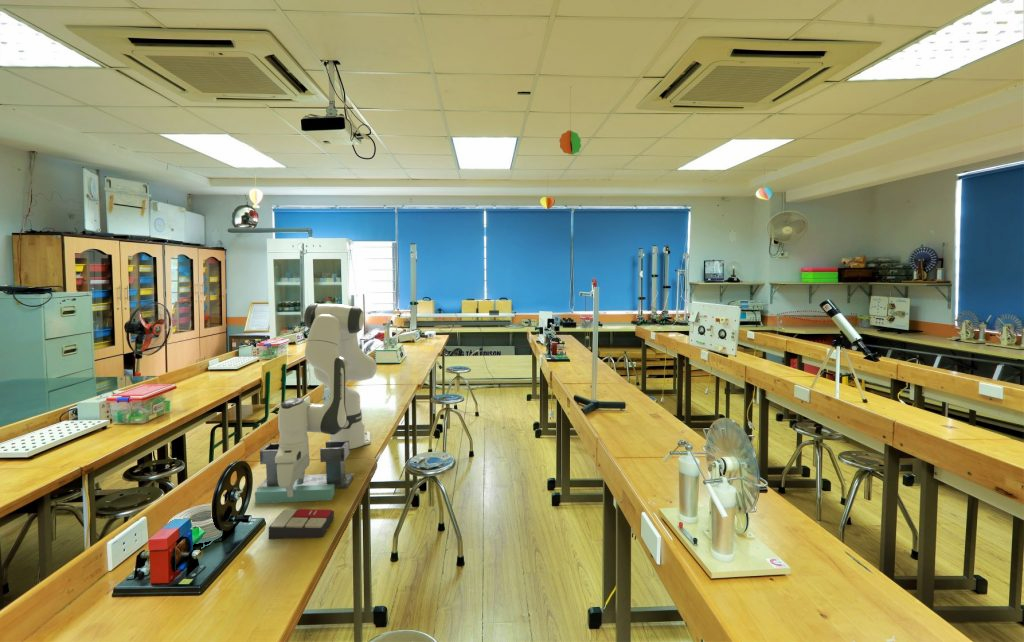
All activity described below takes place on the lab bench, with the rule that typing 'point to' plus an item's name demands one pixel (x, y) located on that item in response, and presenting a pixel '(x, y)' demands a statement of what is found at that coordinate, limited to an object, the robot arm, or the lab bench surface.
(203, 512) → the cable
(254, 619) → the lab bench surface
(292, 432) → the robot arm
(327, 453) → the bracket stand
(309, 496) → the rail
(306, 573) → the lab bench surface
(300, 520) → the large key keypad
